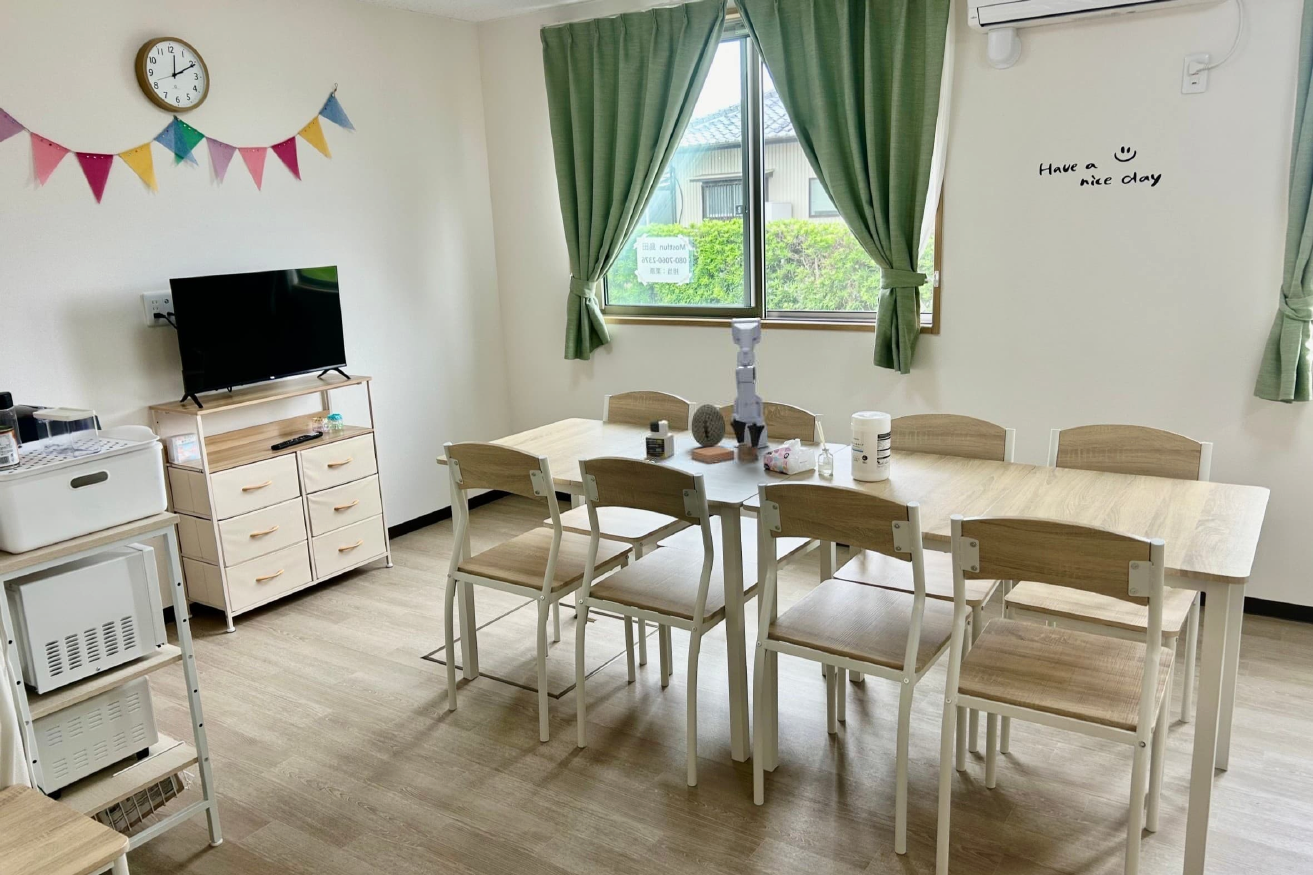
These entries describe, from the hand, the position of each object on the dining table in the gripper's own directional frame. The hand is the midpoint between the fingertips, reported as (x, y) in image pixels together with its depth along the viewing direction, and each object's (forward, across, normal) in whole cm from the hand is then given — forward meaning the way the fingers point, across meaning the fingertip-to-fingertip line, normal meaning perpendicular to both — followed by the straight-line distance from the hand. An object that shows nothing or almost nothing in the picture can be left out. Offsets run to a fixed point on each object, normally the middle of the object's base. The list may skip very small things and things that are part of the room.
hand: (747, 444), depth 310 cm
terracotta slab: (+6, -10, -7) cm, 13 cm away
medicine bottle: (+5, -25, -18) cm, 31 cm away
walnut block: (+5, 0, 0) cm, 5 cm away
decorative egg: (+5, -25, +2) cm, 26 cm away
